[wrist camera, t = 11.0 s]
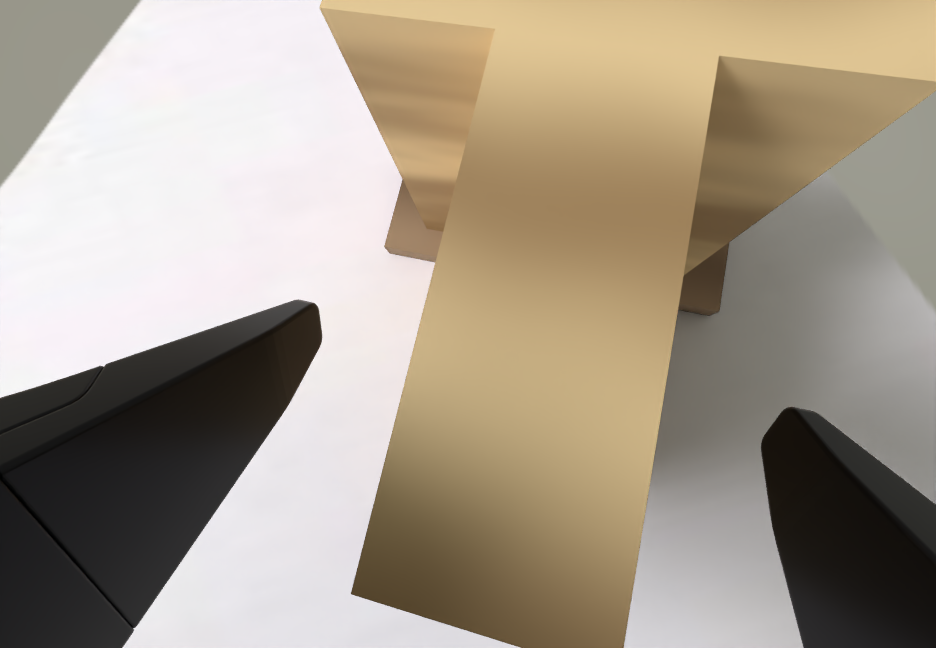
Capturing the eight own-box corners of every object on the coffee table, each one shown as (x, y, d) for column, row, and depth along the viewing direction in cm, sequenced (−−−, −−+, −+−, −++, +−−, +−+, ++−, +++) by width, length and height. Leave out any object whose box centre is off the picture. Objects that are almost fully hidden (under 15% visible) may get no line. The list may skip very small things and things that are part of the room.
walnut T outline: (675, 545, 15) (684, 553, 14) (335, 455, 17) (326, 457, 16) (728, 184, 17) (738, 174, 17) (421, 137, 19) (417, 126, 18)
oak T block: (641, 524, 15) (899, 766, 5) (368, 452, 16) (147, 530, 6) (693, 202, 17) (957, -84, 7) (444, 162, 18) (364, -128, 8)
